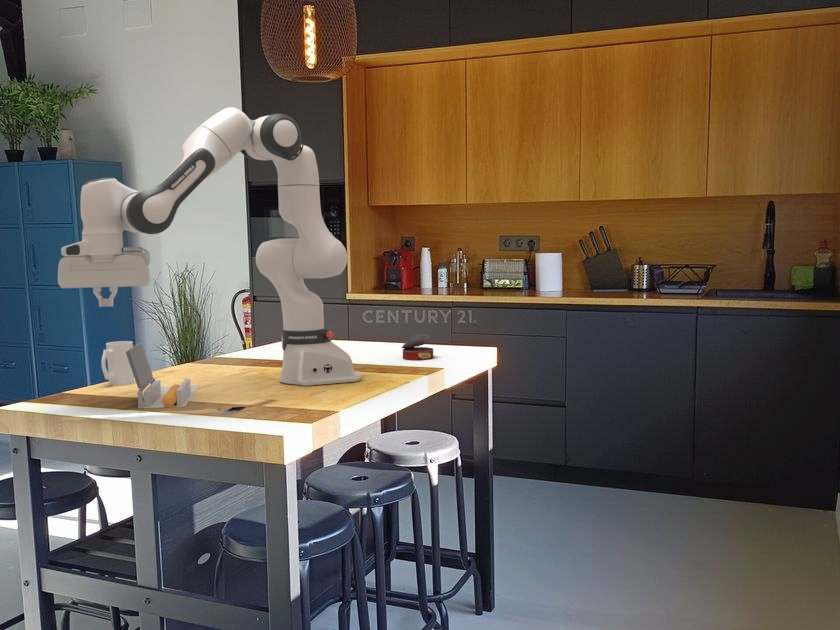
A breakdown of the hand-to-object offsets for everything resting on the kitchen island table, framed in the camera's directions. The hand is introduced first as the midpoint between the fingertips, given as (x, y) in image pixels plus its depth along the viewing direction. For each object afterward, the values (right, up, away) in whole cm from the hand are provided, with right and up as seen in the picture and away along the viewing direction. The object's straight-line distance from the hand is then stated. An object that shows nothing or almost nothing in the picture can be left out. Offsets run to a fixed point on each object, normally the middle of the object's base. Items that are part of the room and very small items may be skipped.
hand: (106, 306), depth 188 cm
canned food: (+73, -16, +67) cm, 101 cm away
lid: (+8, -14, +3) cm, 16 cm away
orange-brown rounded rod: (+14, -22, +2) cm, 26 cm away
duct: (+12, -23, +9) cm, 28 cm away
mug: (-7, -22, +26) cm, 35 cm away
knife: (+32, -24, -3) cm, 40 cm away
